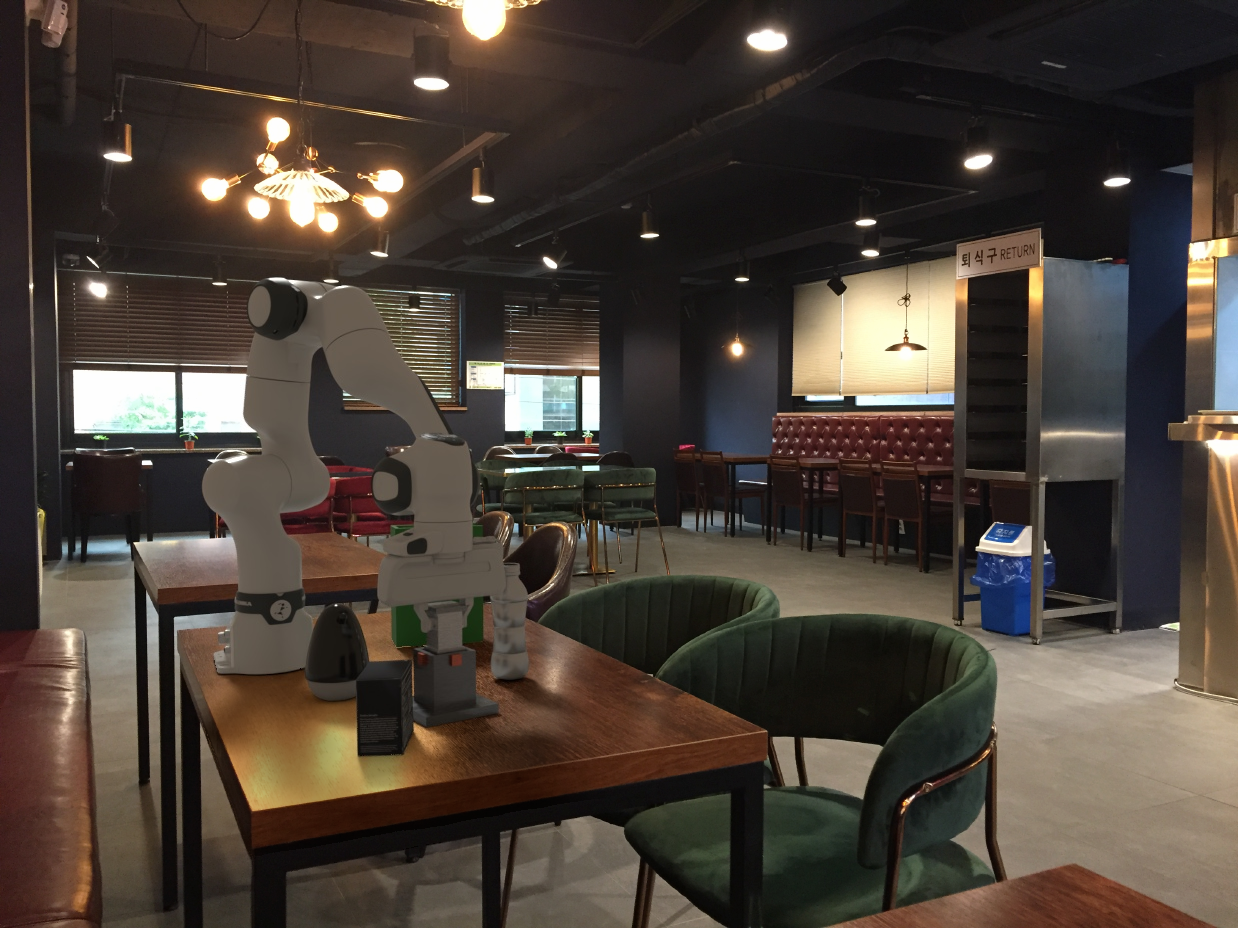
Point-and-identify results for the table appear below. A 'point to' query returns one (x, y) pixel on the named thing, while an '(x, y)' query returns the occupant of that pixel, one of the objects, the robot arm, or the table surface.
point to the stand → (447, 688)
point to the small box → (384, 708)
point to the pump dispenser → (336, 654)
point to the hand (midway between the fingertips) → (444, 629)
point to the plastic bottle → (510, 627)
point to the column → (445, 627)
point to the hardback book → (407, 620)
